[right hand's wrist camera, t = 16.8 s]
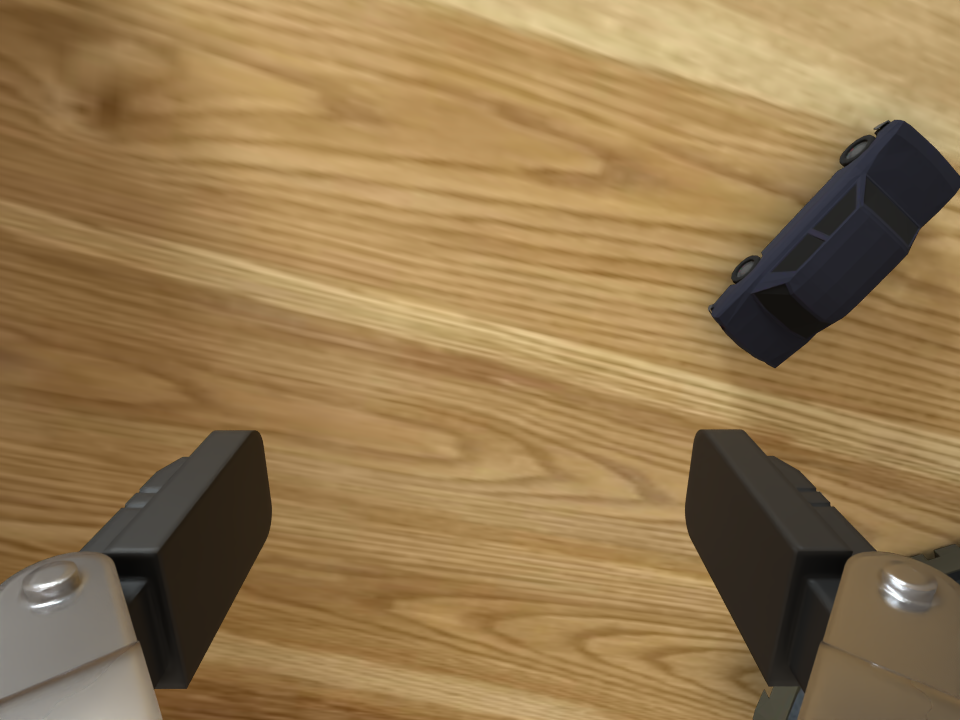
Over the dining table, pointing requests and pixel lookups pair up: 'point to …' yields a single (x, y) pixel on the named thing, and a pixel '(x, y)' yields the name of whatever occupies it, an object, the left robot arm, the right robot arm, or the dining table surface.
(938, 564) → the boot
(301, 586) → the dining table surface
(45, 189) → the dining table surface
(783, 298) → the toy car
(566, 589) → the dining table surface
